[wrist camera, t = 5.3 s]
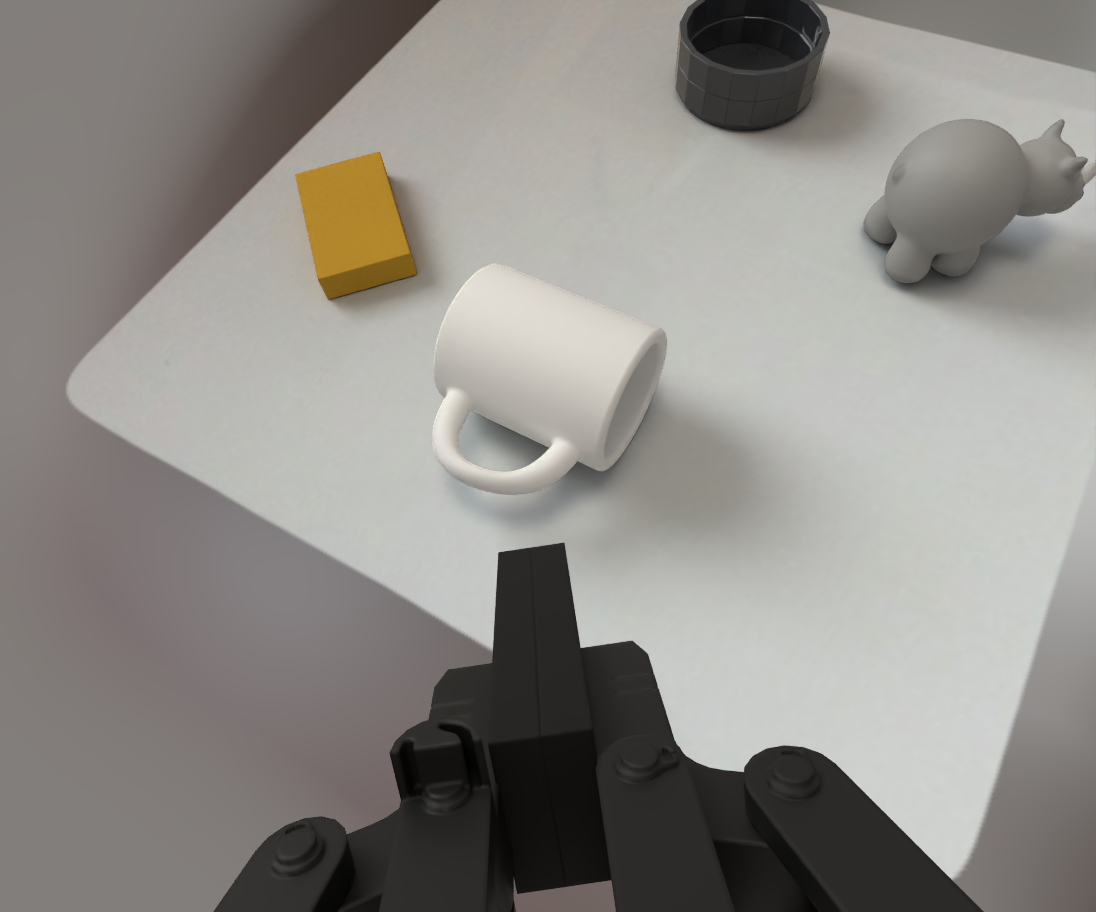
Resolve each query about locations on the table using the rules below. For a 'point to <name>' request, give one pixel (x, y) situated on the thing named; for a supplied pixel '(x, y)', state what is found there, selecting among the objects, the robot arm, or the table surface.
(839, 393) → the table surface
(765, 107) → the dark grey round container
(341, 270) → the ochre rectangular brick
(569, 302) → the mug
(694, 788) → the robot arm
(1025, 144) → the round bodied animal figurine
